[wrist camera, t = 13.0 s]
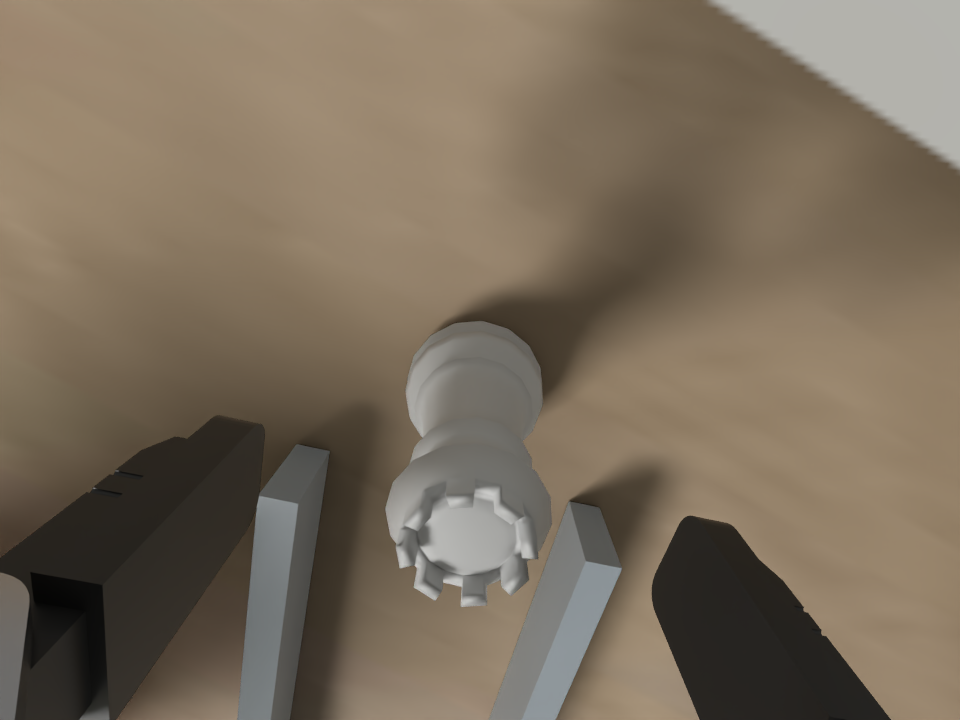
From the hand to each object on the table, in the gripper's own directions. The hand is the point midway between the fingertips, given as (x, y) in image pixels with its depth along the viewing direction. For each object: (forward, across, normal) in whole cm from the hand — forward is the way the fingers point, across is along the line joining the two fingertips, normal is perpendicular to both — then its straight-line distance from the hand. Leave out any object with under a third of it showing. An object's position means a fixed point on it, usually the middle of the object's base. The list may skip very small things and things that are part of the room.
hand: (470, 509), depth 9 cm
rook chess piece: (+8, 0, 0) cm, 8 cm away
